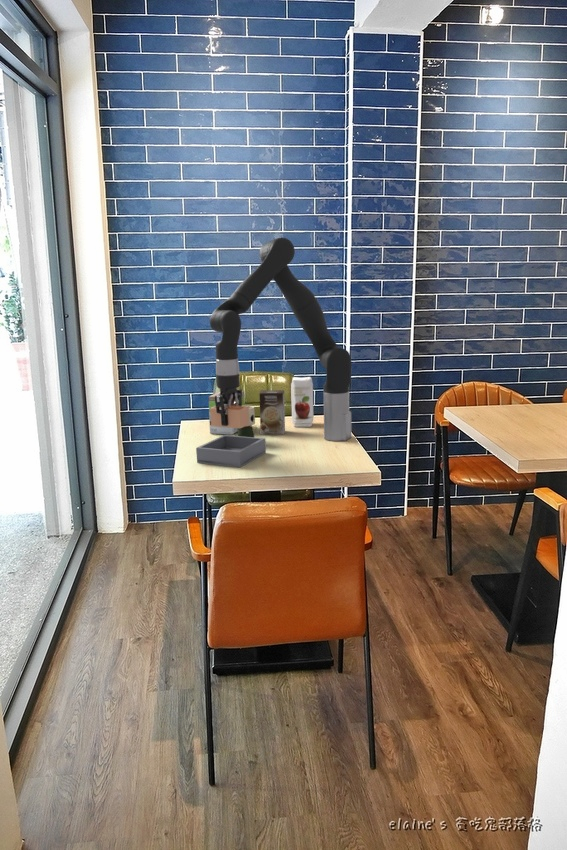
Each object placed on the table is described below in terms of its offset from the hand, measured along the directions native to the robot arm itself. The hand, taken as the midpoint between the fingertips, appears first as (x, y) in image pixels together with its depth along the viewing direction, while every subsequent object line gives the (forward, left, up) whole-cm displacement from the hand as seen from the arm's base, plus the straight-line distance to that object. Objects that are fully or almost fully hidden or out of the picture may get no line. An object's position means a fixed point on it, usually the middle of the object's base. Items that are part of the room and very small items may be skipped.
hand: (230, 423), depth 215 cm
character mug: (+5, -19, -12) cm, 23 cm away
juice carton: (-4, -50, -12) cm, 52 cm away
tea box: (+21, -34, -12) cm, 42 cm away
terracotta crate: (0, 0, -1) cm, 1 cm away
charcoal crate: (0, 0, -12) cm, 12 cm away
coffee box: (+2, -35, -12) cm, 37 cm away
